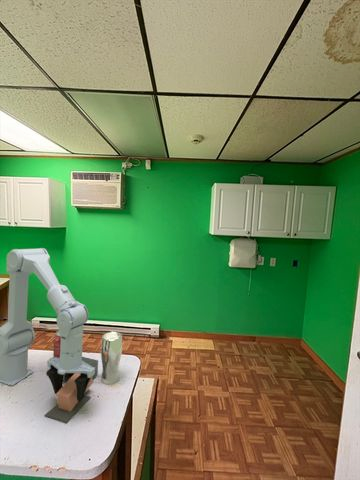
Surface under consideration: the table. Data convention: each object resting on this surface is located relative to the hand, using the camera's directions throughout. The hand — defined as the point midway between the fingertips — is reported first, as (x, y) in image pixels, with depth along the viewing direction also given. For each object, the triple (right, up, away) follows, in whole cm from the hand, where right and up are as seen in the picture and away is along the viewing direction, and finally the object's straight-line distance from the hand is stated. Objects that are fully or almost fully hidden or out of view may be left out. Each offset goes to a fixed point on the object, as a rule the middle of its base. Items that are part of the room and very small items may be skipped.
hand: (69, 395), depth 67 cm
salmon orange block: (+1, -2, +3) cm, 4 cm away
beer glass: (+8, -4, +14) cm, 16 cm away
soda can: (-11, -2, +19) cm, 21 cm away
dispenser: (-3, -3, +13) cm, 13 cm away
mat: (0, -3, 0) cm, 3 cm away
